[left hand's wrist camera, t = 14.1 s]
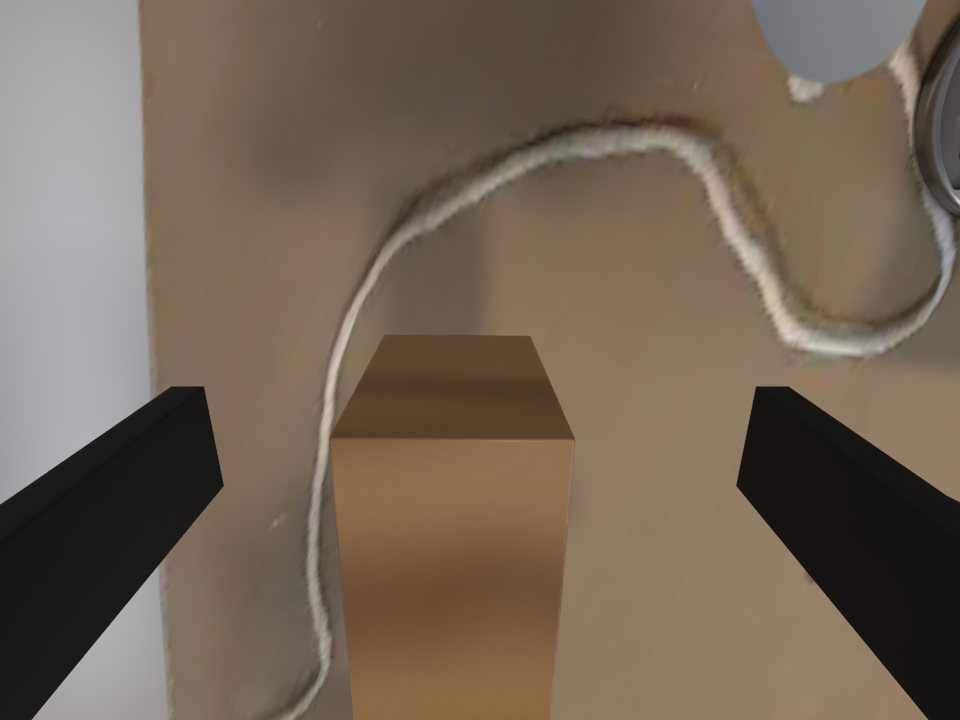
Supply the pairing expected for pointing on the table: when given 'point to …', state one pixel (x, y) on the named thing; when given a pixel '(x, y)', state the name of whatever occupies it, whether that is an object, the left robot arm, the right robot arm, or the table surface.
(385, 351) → the bar
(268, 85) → the table surface
